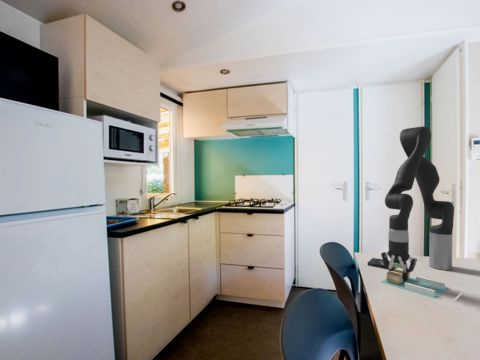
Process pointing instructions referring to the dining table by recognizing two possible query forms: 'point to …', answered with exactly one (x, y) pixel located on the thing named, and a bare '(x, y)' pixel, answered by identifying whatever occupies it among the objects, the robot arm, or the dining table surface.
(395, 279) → the tan rectangular block
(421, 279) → the pair of grey bars
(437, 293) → the rubber mat
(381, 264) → the disk drive
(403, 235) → the robot arm
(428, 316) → the dining table surface
